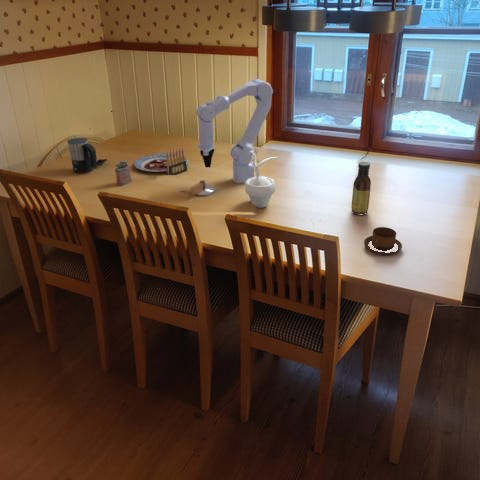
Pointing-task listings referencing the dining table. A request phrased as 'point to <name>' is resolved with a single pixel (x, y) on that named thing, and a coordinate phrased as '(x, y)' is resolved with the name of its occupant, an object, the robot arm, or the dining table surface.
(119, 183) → the lighter
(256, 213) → the dining table surface
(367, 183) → the sauce bottle
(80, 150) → the milk frother
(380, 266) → the dining table surface
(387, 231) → the cup and saucer
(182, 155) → the ammunition clip
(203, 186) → the dial
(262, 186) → the potted plant
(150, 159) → the ceramic plate
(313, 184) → the dining table surface
